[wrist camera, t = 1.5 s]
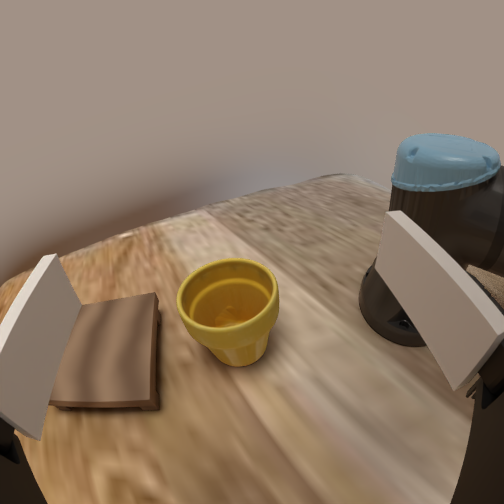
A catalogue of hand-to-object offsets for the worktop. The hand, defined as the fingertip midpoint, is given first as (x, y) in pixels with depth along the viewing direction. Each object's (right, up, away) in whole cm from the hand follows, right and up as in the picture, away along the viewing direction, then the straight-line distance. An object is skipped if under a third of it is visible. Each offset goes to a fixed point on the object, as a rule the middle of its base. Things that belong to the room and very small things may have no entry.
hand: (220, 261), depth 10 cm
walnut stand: (-18, -15, +22) cm, 32 cm away
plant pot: (0, -11, +23) cm, 26 cm away
